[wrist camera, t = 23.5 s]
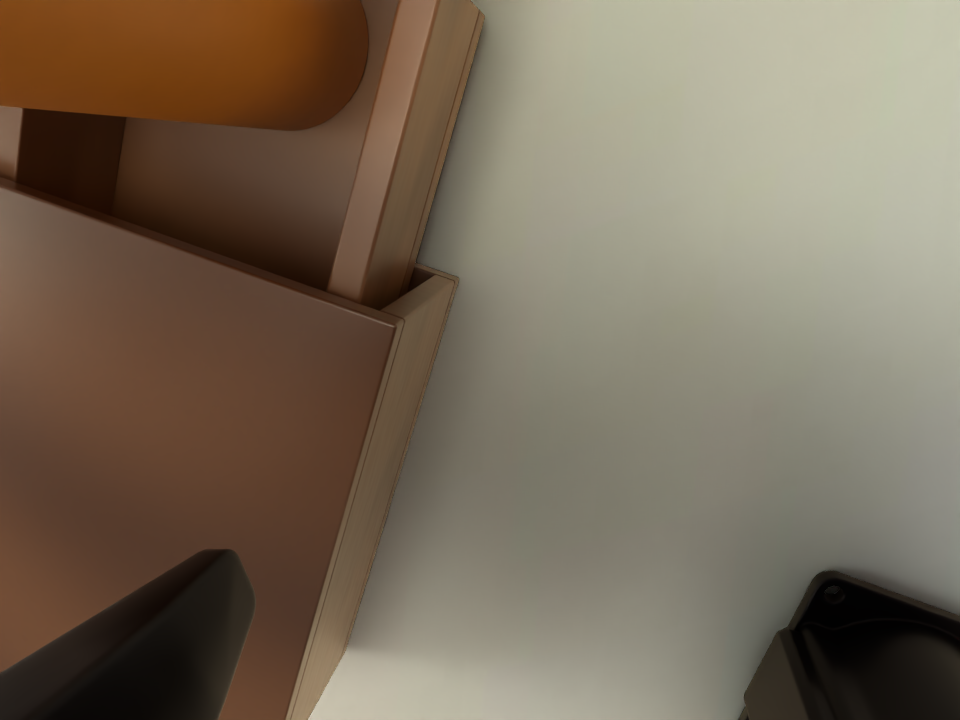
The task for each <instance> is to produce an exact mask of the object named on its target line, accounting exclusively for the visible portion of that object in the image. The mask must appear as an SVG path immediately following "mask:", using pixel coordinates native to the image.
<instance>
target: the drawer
mask: <svg viewBox="0 0 960 720" xmlns="http://www.w3.org/2000/svg"><path fill="white" fill-rule="evenodd" d="M360 2H361V4H362V7H363V10H364V14H365V18H366V23H367V30H368V52H367V60H366V64H365V69H364V72H363V75H362V78H361V81H360V83H359V85H358V87H357V89H356V91H355V92H354V94H353V95H352V97H351V98H350V100H349V101H348V102H347V104H346V105H345V106H344V107H343V108H342V109H341V110H340V111H339V112H338V113H337V114H335V115H334V116H333V117H332V118H330V119H328V120H327V121H325V122H324V123H321V124H319V125H317V126H315V127H311V128H308V129H304V130H296V131H283V130H271V129H260V128H248V127H237V126H225V125H214V124H202V123H191V122H179V121H168V120H156V119H145V118H133V117H121V116H110V115H98V114H87V113H75V112H64V111H52V110H41V109H29V108H18V107H6V106H0V177H2V178H5V179H8V180H10V181H13V182H16V183H19V184H22V185H25V186H27V187H30V188H33V189H36V190H39V191H41V192H44V193H47V194H50V195H53V196H56V197H58V198H61V199H64V200H67V201H70V202H73V203H75V204H78V205H81V206H84V207H87V208H90V209H92V210H95V211H98V212H101V213H104V214H107V215H109V216H112V217H115V218H118V219H121V220H124V221H126V222H129V223H132V224H135V225H138V226H140V227H143V228H146V229H149V230H152V231H155V232H157V233H160V234H163V235H166V236H169V237H172V238H174V239H177V240H180V241H183V242H186V243H189V244H191V245H194V246H197V247H200V248H203V249H206V250H208V251H211V252H214V253H217V254H220V255H223V256H225V257H228V258H231V259H234V260H237V261H239V262H242V263H245V264H248V265H251V266H254V267H256V268H259V269H262V270H265V271H268V272H271V273H273V274H276V275H279V276H282V277H285V278H288V279H290V280H293V281H296V282H299V283H302V284H305V285H307V286H310V287H313V288H316V289H319V290H322V291H324V292H327V293H330V294H333V295H336V296H338V297H341V298H344V299H347V300H350V301H353V302H355V303H358V304H361V305H364V306H367V307H370V308H372V309H375V310H378V311H380V310H382V309H383V308H385V307H386V306H388V305H389V304H391V303H392V302H394V301H396V300H397V299H399V298H400V297H402V296H403V295H405V294H406V293H407V290H408V287H409V283H410V280H411V276H412V273H413V269H414V266H415V262H416V259H417V255H418V252H419V248H420V245H421V241H422V237H423V234H424V230H425V227H426V223H427V220H428V216H429V213H430V209H431V206H432V202H433V199H434V195H435V192H436V188H437V185H438V181H439V178H440V174H441V171H442V167H443V164H444V160H445V157H446V153H447V150H448V146H449V142H450V139H451V135H452V132H453V128H454V125H455V121H456V118H457V114H458V111H459V107H460V104H461V100H462V97H463V93H464V90H465V86H466V83H467V79H468V76H469V72H470V69H471V65H472V62H473V58H474V55H475V51H476V47H477V44H478V40H479V37H480V33H481V30H482V26H483V23H484V19H485V15H484V14H483V13H482V12H481V11H480V10H479V9H478V8H477V7H476V6H475V5H474V4H473V2H472V1H471V0H360Z"/></svg>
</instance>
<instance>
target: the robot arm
mask: <svg viewBox="0 0 960 720" xmlns="http://www.w3.org/2000/svg"><path fill="white" fill-rule="evenodd" d="M831 586H837V587H839V590H838V591H837V592H836V593H834V594H826V593H825V590H826V589H827V588H828V587H831ZM255 608H256V596H255V591H254V588H253V586H252V584H251V582H250V580H249V577H248V575H247V573H246V571H245V569H244V566H243V564H242V562H241V560H240V558H239V556H238V554H237V553H236V552H235V551H234V550H231V549H205V550H202V551H200V552H198V553H196V554H195V555H193V556H191V557H190V558H188V559H186V560H185V561H183V562H181V563H180V564H178V565H176V566H175V567H173V568H172V569H170V570H168V571H167V572H165V573H163V574H162V575H160V576H158V577H157V578H155V579H153V580H152V581H150V582H149V583H147V584H145V585H144V586H142V587H140V588H139V589H137V590H135V591H134V592H132V593H130V594H129V595H127V596H126V597H124V598H122V599H121V600H119V601H117V602H116V603H114V604H112V605H111V606H109V607H107V608H106V609H104V610H103V611H101V612H99V613H98V614H96V615H94V616H93V617H91V618H89V619H88V620H86V621H84V622H83V623H81V624H80V625H78V626H76V627H75V628H73V629H71V630H70V631H68V632H66V633H65V634H63V635H61V636H60V637H58V638H57V639H55V640H53V641H52V642H50V643H48V644H47V645H45V646H43V647H42V648H40V649H38V650H37V651H35V652H34V653H32V654H30V655H29V656H27V657H25V658H24V659H22V660H20V661H19V662H17V663H15V664H14V665H12V666H11V667H9V668H7V669H6V670H4V671H2V672H1V673H0V720H218V719H219V716H220V714H221V711H222V708H223V706H224V703H225V700H226V697H227V694H228V691H229V688H230V685H231V682H232V680H233V677H234V674H235V671H236V668H237V665H238V662H239V659H240V656H241V653H242V650H243V647H244V644H245V641H246V638H247V635H248V632H249V629H250V626H251V623H252V620H253V617H254V614H255ZM744 700H745V704H746V706H745V708H744V710H743V712H742V714H741V716H740V718H739V720H960V616H958V615H955V614H952V613H950V612H947V611H944V610H942V609H939V608H936V607H933V606H931V605H928V604H925V603H922V602H920V601H917V600H914V599H911V598H909V597H906V596H903V595H900V594H898V593H895V592H892V591H889V590H887V589H884V588H881V587H878V586H876V585H873V584H870V583H867V582H865V581H862V580H859V579H857V578H854V577H851V576H848V575H846V574H843V573H840V572H837V571H831V570H830V571H823V572H821V573H819V574H818V575H816V577H815V578H814V579H813V580H812V582H811V584H810V586H809V588H808V590H807V592H806V593H805V595H804V597H803V599H802V601H801V603H800V605H799V607H798V609H797V610H796V612H795V614H794V616H793V618H792V620H791V622H790V624H789V625H788V627H787V628H784V629H782V630H780V631H778V632H777V633H776V635H775V637H774V639H773V641H772V643H771V645H770V646H769V648H768V650H767V652H766V654H765V656H764V658H763V660H762V662H761V664H760V665H759V667H758V669H757V671H756V673H755V675H754V677H753V679H752V681H751V683H750V684H749V686H748V688H747V690H746V692H745V694H744Z"/></svg>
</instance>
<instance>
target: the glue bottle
mask: <svg viewBox="0 0 960 720" xmlns="http://www.w3.org/2000/svg"><path fill="white" fill-rule="evenodd" d="M367 52H368V30H367V23H366V18H365V14H364V10H363V7H362V4H361V2H360V0H0V106H6V107H18V108H29V109H41V110H52V111H64V112H75V113H87V114H98V115H110V116H121V117H133V118H145V119H156V120H168V121H179V122H191V123H202V124H214V125H225V126H237V127H248V128H260V129H271V130H283V131H296V130H304V129H308V128H311V127H315V126H317V125H319V124H321V123H324V122H325V121H327V120H328V119H330V118H332V117H333V116H334V115H335V114H337V113H338V112H339V111H340V110H341V109H342V108H343V107H344V106H345V105H346V104H347V102H348V101H349V100H350V98H351V97H352V95H353V94H354V92H355V91H356V89H357V87H358V85H359V83H360V81H361V78H362V75H363V72H364V69H365V64H366V60H367Z"/></svg>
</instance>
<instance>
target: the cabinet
mask: <svg viewBox="0 0 960 720" xmlns="http://www.w3.org/2000/svg"><path fill="white" fill-rule="evenodd" d="M458 282H459V278H458V277H456V276H453V275H450V274H447V273H444V272H441V271H438V270H435V269H432V268H430V267H427V266H424V265H421V264H418V263H415V266H414V269H413V273H412V276H411V280H410V283H409V287H408V290H407V293H406V294H405V295H403V296H402V297H400V298H399V299H397V300H396V301H394V302H392V303H391V304H389V305H388V306H386V307H385V308H383V309H382V310H380V311H378V310H375V309H372V308H370V307H367V306H364V305H361V304H358V303H355V302H353V301H350V300H347V299H344V298H341V297H338V296H336V295H333V294H330V293H327V292H324V291H322V290H319V289H316V288H313V287H310V286H307V285H305V284H302V283H299V282H296V281H293V280H290V279H288V278H285V277H282V276H279V275H276V274H273V273H271V272H268V271H265V270H262V269H259V268H256V267H254V266H251V265H248V264H245V263H242V262H239V261H237V260H234V259H231V258H228V257H225V256H223V255H220V254H217V253H214V252H211V251H208V250H206V249H203V248H200V247H197V246H194V245H191V244H189V243H186V242H183V241H180V240H177V239H174V238H172V237H169V236H166V235H163V234H160V233H157V232H155V231H152V230H149V229H146V228H143V227H140V226H138V225H135V224H132V223H129V222H126V221H124V220H121V219H118V218H115V217H112V216H109V215H107V214H104V213H101V212H98V211H95V210H92V209H90V208H87V207H84V206H81V205H78V204H75V203H73V202H70V201H67V200H64V199H61V198H58V197H56V196H53V195H50V194H47V193H44V192H41V191H39V190H36V189H33V188H30V187H27V186H25V185H22V184H19V183H16V182H13V181H10V180H8V179H5V178H2V177H0V673H1V672H2V671H4V670H6V669H7V668H9V667H11V666H12V665H14V664H15V663H17V662H19V661H20V660H22V659H24V658H25V657H27V656H29V655H30V654H32V653H34V652H35V651H37V650H38V649H40V648H42V647H43V646H45V645H47V644H48V643H50V642H52V641H53V640H55V639H57V638H58V637H60V636H61V635H63V634H65V633H66V632H68V631H70V630H71V629H73V628H75V627H76V626H78V625H80V624H81V623H83V622H84V621H86V620H88V619H89V618H91V617H93V616H94V615H96V614H98V613H99V612H101V611H103V610H104V609H106V608H107V607H109V606H111V605H112V604H114V603H116V602H117V601H119V600H121V599H122V598H124V597H126V596H127V595H129V594H130V593H132V592H134V591H135V590H137V589H139V588H140V587H142V586H144V585H145V584H147V583H149V582H150V581H152V580H153V579H155V578H157V577H158V576H160V575H162V574H163V573H165V572H167V571H168V570H170V569H172V568H173V567H175V566H176V565H178V564H180V563H181V562H183V561H185V560H186V559H188V558H190V557H191V556H193V555H195V554H196V553H198V552H200V551H202V550H205V549H231V550H234V551H235V552H236V553H237V554H238V556H239V558H240V560H241V562H242V564H243V566H244V569H245V571H246V573H247V575H248V577H249V580H250V582H251V584H252V586H253V588H254V591H255V596H256V608H255V614H254V617H253V620H252V623H251V626H250V629H249V632H248V635H247V638H246V641H245V644H244V647H243V650H242V653H241V656H240V659H239V662H238V665H237V668H236V671H235V674H234V677H233V680H232V682H231V685H230V688H229V691H228V694H227V697H226V700H225V703H224V706H223V708H222V711H221V714H220V716H219V719H218V720H308V718H309V717H310V715H311V713H312V711H313V709H314V707H315V706H316V704H317V702H318V700H319V698H320V696H321V695H322V693H323V691H324V689H325V687H326V686H327V684H328V682H329V680H330V678H331V676H332V675H333V673H334V671H335V669H336V667H337V665H338V664H339V662H340V660H341V658H342V656H343V655H344V653H345V651H346V648H347V645H348V642H349V638H350V635H351V632H352V629H353V625H354V622H355V619H356V616H357V612H358V609H359V606H360V602H361V599H362V596H363V593H364V589H365V586H366V583H367V580H368V576H369V573H370V570H371V566H372V563H373V560H374V557H375V553H376V550H377V547H378V544H379V540H380V537H381V534H382V530H383V527H384V524H385V521H386V517H387V514H388V511H389V508H390V504H391V501H392V498H393V494H394V491H395V488H396V485H397V481H398V478H399V475H400V472H401V468H402V465H403V462H404V458H405V455H406V452H407V449H408V445H409V442H410V439H411V436H412V432H413V429H414V426H415V422H416V419H417V416H418V413H419V409H420V406H421V403H422V400H423V396H424V393H425V390H426V386H427V383H428V380H429V377H430V373H431V370H432V367H433V364H434V360H435V357H436V354H437V350H438V347H439V344H440V341H441V337H442V334H443V331H444V328H445V324H446V321H447V318H448V314H449V311H450V308H451V305H452V301H453V298H454V295H455V292H456V288H457V285H458Z"/></svg>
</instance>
